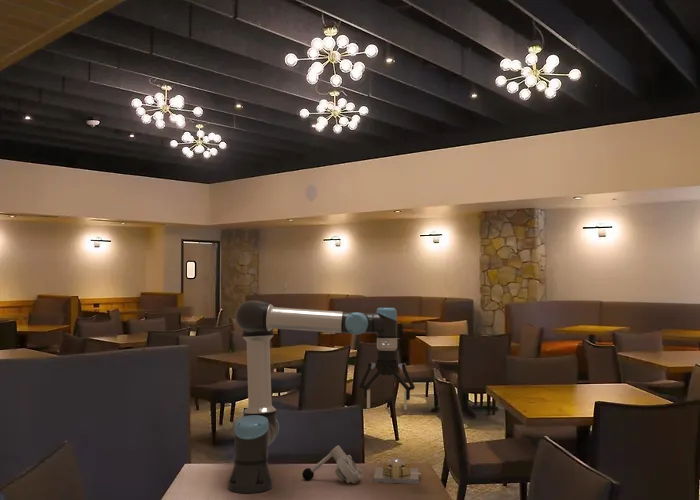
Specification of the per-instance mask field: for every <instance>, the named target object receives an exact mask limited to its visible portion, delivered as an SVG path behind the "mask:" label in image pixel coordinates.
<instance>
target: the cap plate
mask: <svg viewBox="0 0 700 500" xmlns="http://www.w3.org/2000/svg"><path fill="white" fill-rule="evenodd" d="M393 462H399V468H402V463H403V458H401V457H391V458H390V463H391V467H392V468H393ZM419 475H421V472H419V468H417V467H415V468H414V467H413V468H412V467H410V474H409V475H405V476H399V479H393V476H392V475H391V476H389V475H386V474H383V466H381V467H380V466H378V467H377V466H376V467H375V470H374V475H373V483H374V484H375V483H376V482H377V483H376V484H379V483H380V484H409V485H410V484H415V485H419V484H420V478H419Z"/></svg>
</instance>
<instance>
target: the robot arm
mask: <svg viewBox="0 0 700 500" xmlns="http://www.w3.org/2000/svg"><path fill="white" fill-rule="evenodd" d="M235 321H236V322H235V323H236V324H237V326H238V327H239V328H240V329H241V331H242V333H241V334H242V335H241V336H242V339H243V340H245V342H246V360H247V361H246V363H247V365H246V367H247V369H246V370H247V398H248V399H247V401H248V406H247V408H246V409H245V410H244V416H241V417H239V418H237V420H236V421H235V424H234V431H233V432H234V441H233V442H234V444H233V445H234V446H233V447H234V448H233V449H234V450H233V451H234V452H233V453H234V454H233V467H232V469H231V474H230V476H229V478H228V482H227V485H228V486H227V487H228V490H229V491H231V492H233V493H240V494H255V493H257V494H258V493H261V492H267V491H269V490H271V489H272V488H273V477H272V474H271V471H270V470H271V469H270V466H269V446H271V444H273V443H274V442H275V441H276V439H277V437H278V435H279V431H280V424H279V420H278V419H277V408H275V406H273V404H272V380H271V379H272V375H271V371H272V370H271V345H270V343H271V342H270V341H271V339H272V338H273V337H274V329H276V330H293V331H304V332H305V331H306V332H319V333H323V332H324V333H335V334H336V333H338V334H351V335H355V336H356V335H357V336H358V335H362V334H376V348H377V350H376V362H371V361H370V362H368V363H367V369H366V371H365V373H364V374H363V377H362V379H361V381H360V383H359V385H358V387H359V389H363V398H364V399H365V400H366V408H367V409H370V408H371V388H370V387H371V386H372V384H373V383H374V382H375V381H376V380H377V378H379V376H380V375H381V376H389V377H390V376H394V377H395V378H396V380H397V381H398V382H399V383H400V385H402V387H403V388H404V389H405V390H403V410H407V409H408V408H407V407H408V401H410V399H411V391H414V390H415V388H416V386H415V384H414V382H413V380H412V378H411V376H410V374H409V371H408V370H407V364H406V363H405V362H403V363H398V351H397V349H398V312H397V309H396V308H395V307H378V308H376V312H372V313H371V312H359V311H357V312H356V311H354V312H352V311H341V310H339V311H336V310H324V309H323V310H320V309H307V308H306V309H305V308H291V307H290V308H289V307H277V306H274V305H273V304H271V303H267V302H266V301H263V300H252V299H251V300H246V301H244V302H242V303H241V304H240V305H239V306H238V307H237V309H236V311H235ZM375 368H376V370H377V372H376V373H375V374H374V375H373V376H372V377H371V378H370V380H369V381H368V382H367V380H368V377H369V376H370V374H371V371H372V370H373V369H375ZM398 368H399V370H401V371H402V373H403V375H404V377H405V379H406V381H407V382H405V380H404V379H403V377H401V375H400V374H399V372H398V371H397V369H398ZM366 382H367V383H366ZM365 383H366V384H365ZM407 383H408V384H409V385H408V384H407ZM369 388H370V389H369Z"/></svg>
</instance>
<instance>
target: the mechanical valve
mask: <svg viewBox="0 0 700 500" xmlns="http://www.w3.org/2000/svg"><path fill="white" fill-rule="evenodd" d="M331 458H333V459H334V460H335V462H336V464H335V468H336V469H335V471H334V473H335V475H336V477H337V479H339V481H340V482H342V483H345V482H346V483H347V484H350V483H351V484H356V483H357V482H358V481H360V480H361V479H362V473H363V470H362V468H360V467H358V466H357V464H356V463H355V461H354V460H353V457H352V456H351V455H350V454H348V455H347V454H346V453H345V451H344V450H343V449H342V448H341V446H340V445H338V444H337V445H336V446H335V447H334V448H333V449H331V450H330V451H329V453H328V454H327V455H326V456H325V457H323V458H322V459H321V460H320V461H318V462H317V463H316V464H315V465H314V466H313V467H307V468H305V469H304V470H303V471H302V474H301V475H302V478H303V479H304V480H305V481H311V480H312V479H313V478H314V476H315V472H316V471H317V470H318V469H320V467H322V466H323V465H324V464H326V463H327V462H328V461H329V459H331Z"/></svg>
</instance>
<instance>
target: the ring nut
mask: <svg viewBox="0 0 700 500" xmlns="http://www.w3.org/2000/svg"><path fill="white" fill-rule="evenodd" d="M382 467H383V474H386V475H389V476H391V475H392V476H393V479H399V476H405V475H409V474H410V468H411V462H410V461H409V462H408V461H405V462H402V468H399V462H393V468H392V467H391V462H389V461H383V462H382Z"/></svg>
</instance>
